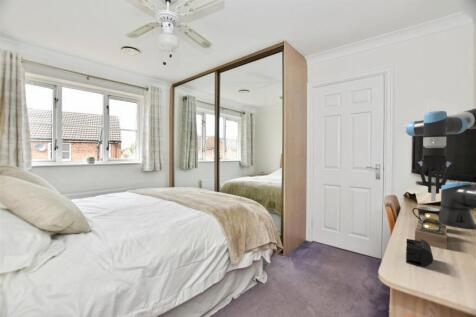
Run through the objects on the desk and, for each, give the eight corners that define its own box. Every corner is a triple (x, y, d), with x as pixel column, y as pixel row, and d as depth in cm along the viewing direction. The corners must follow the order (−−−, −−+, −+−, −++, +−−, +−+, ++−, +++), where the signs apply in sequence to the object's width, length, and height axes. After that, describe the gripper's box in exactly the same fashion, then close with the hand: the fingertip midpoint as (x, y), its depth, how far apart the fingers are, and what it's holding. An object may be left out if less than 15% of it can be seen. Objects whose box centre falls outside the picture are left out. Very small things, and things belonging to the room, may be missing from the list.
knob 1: (424, 217, 108) (425, 212, 108) (438, 219, 104) (439, 214, 104) (424, 219, 104) (424, 214, 104) (438, 222, 101) (439, 217, 101)
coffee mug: (443, 231, 110) (444, 211, 110) (423, 230, 112) (424, 210, 112) (428, 223, 122) (428, 205, 121) (410, 222, 123) (411, 204, 123)
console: (418, 230, 111) (418, 218, 111) (445, 235, 104) (446, 222, 104) (414, 242, 96) (415, 228, 96) (446, 249, 90) (446, 234, 89)
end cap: (432, 270, 74) (433, 250, 73) (406, 263, 78) (406, 244, 78) (430, 259, 81) (431, 240, 81) (406, 253, 86) (406, 236, 86)
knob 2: (423, 228, 100) (423, 222, 100) (438, 230, 96) (438, 225, 96) (422, 230, 96) (423, 225, 96) (438, 233, 93) (438, 228, 93)
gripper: (414, 147, 99) (414, 200, 100) (455, 146, 90) (454, 204, 91) (415, 147, 105) (415, 197, 106) (454, 146, 96) (453, 201, 97)
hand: (433, 200), depth 98 cm, fingers closed
